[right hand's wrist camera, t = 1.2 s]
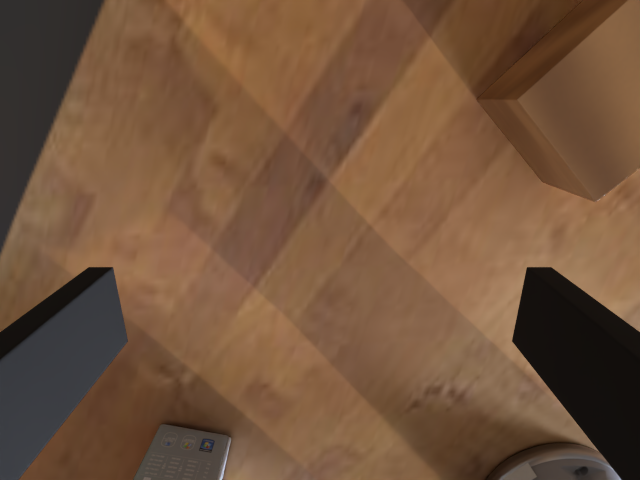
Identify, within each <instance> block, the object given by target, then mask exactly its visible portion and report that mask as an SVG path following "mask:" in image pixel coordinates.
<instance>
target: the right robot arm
mask: <svg viewBox="0 0 640 480" xmlns="http://www.w3.org/2000/svg"><path fill="white" fill-rule="evenodd" d="M127 342H128V339H127V334H126V329H125V325H124V320H123V315H122V310H121V305H120V300H119V295H118V290H117V285H116V280H115V275H114V270H113V267H89V268H87V269H86V270H85V271H83V272H82V273H80V274H79V275H78V276H76V277H75V278H74V279H72V280H71V281H70V282H68V283H67V284H65V285H64V286H63V287H61V288H60V289H59V290H57V291H56V292H55V293H53V294H52V295H50V296H49V297H48V298H46V299H45V300H44V301H42V302H41V303H40V304H38V305H37V306H35V307H34V308H33V309H31V310H30V311H29V312H27V313H26V314H25V315H23V316H22V317H20V318H19V319H18V320H16V321H15V322H14V323H12V324H11V325H10V326H8V327H7V328H5V329H4V330H3V331H1V332H0V480H19V478H20V477H21V476H22V475H23V473H24V472H25V471H26V470H27V468H28V467H29V466H30V464H31V463H32V462H33V461H34V459H35V458H36V457H37V456H38V454H39V453H40V452H41V451H42V449H43V448H44V447H45V445H46V444H47V443H48V442H49V440H50V439H51V438H52V437H53V435H54V434H55V433H56V432H57V430H58V429H59V428H60V426H61V425H62V424H63V423H64V421H65V420H66V419H67V418H68V416H69V415H70V414H71V413H72V411H73V410H74V409H75V407H76V406H77V405H78V404H79V402H80V401H81V400H82V399H83V397H84V396H85V395H86V394H87V392H88V391H89V390H90V388H91V387H92V386H93V385H94V383H95V382H96V381H97V380H98V378H99V377H100V376H101V375H102V373H103V372H104V371H105V369H106V368H107V367H108V366H109V364H110V363H111V362H112V361H113V359H114V358H115V357H116V356H117V354H118V353H119V352H120V350H121V349H122V348H123V347H124V345H125V344H126V343H127ZM512 342H513V343H514V344H515V345H516V347H517V348H518V349H519V350H520V352H521V353H522V354H523V356H524V357H525V358H526V359H527V361H528V362H529V363H530V364H531V366H532V367H533V368H534V369H535V371H536V372H537V373H538V375H539V376H540V377H541V378H542V380H543V381H544V382H545V383H546V385H547V386H548V387H549V388H550V390H551V391H552V392H553V394H554V395H555V396H556V397H557V399H558V400H559V401H560V402H561V404H562V405H563V406H564V407H565V409H566V410H567V411H568V413H569V414H570V415H571V416H572V418H573V419H574V420H575V421H576V423H577V424H578V425H579V426H580V428H581V429H582V430H583V432H584V433H585V434H586V435H587V437H588V438H589V439H590V440H591V442H592V443H593V444H594V445H595V447H596V448H597V449H598V451H599V452H600V453H599V452H597V451H596V450H594V449H591V448H589V447H585V446H582V445H577V444H569V443H555V444H547V445H541V446H537V447H533V448H530V449H527V450H524V451H522V452H520V453H518V454H515V455H514V456H512V457H510V458H508V459H507V460H505V461H504V462H503V463H501V464H500V465H499V466H498V467H497V468H496V469H494V470H493V472H492V473H491V474H490V475H489V476H488V478H487V479H486V480H640V332H639V331H637V330H636V329H635V328H633V327H632V326H630V325H629V324H628V323H626V322H625V321H624V320H622V319H621V318H620V317H618V316H617V315H615V314H614V313H613V312H611V311H610V310H609V309H607V308H606V307H605V306H603V305H602V304H600V303H599V302H598V301H596V300H595V299H594V298H592V297H591V296H590V295H588V294H587V293H585V292H584V291H583V290H581V289H580V288H579V287H577V286H576V285H575V284H573V283H572V282H570V281H569V280H568V279H566V278H565V277H564V276H562V275H561V274H560V273H558V272H557V271H555V270H554V269H553V268H551V267H527V270H526V275H525V280H524V285H523V290H522V295H521V300H520V305H519V310H518V315H517V320H516V325H515V329H514V334H513V339H512Z"/></svg>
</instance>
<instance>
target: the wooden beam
mask: <svg viewBox="0 0 640 480" xmlns="http://www.w3.org/2000/svg"><path fill="white" fill-rule="evenodd" d="M477 101H478V102H479V103H480V105H481V106H482V107H483V108H484V110H485V111H486V112H487V113H488V115H489V116H490V117H491V118H492V120H493V121H494V122H495V123H496V125H497V126H498V127H499V128H500V130H501V131H502V132H503V133H504V135H505V136H506V137H507V138H508V140H509V141H510V142H511V143H512V145H513V146H514V147H515V148H516V150H517V151H518V152H519V153H520V155H521V156H522V157H523V158H524V160H525V161H526V162H527V163H528V165H529V166H530V167H531V168H532V170H533V171H534V172H535V173H536V175H537V176H538V177H539V178H540V179H541V181H542V182H543V183H546V184H549V185H551V186H554V187H557V188H559V189H562V190H565V191H567V192H570V193H572V194H575V195H578V196H580V197H583V198H586V199H588V200H591V201H594V202H597V201H598V200H599V199H601V198H602V197H603V196H604V195H606V194H607V193H608V192H610V191H611V190H612V189H614V188H615V187H616V186H617V185H619V184H620V183H621V182H623V181H624V180H625V179H626V178H628V177H629V176H630V175H632V174H633V173H634V172H635V171H637V170H638V169H639V168H640V0H583V1H582V2H581V3H580V4H579V5H577V6H576V7H575V8H574V9H573V10H572V11H571V12H570V13H569V14H568V15H567V16H566V17H565V18H563V19H562V20H561V21H560V22H559V23H558V24H557V25H556V26H555V27H554V28H553V29H552V30H550V31H549V32H548V33H547V34H546V35H545V36H544V37H543V38H542V39H541V40H540V41H539V42H538V43H536V44H535V45H534V46H533V47H532V48H531V49H530V50H529V51H528V52H527V53H526V54H525V55H524V56H522V57H521V58H520V59H519V60H518V61H517V62H516V63H515V64H514V65H513V66H512V67H511V68H510V69H508V70H507V71H506V72H505V73H504V74H503V75H502V76H501V77H500V78H499V79H498V80H497V81H495V82H494V83H493V84H492V85H491V86H490V87H489V88H488V89H487V90H486V91H485V92H484V93H483V94H481V95H480V96H479V97H478V98H477Z"/></svg>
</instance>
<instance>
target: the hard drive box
mask: <svg viewBox="0 0 640 480" xmlns="http://www.w3.org/2000/svg"><path fill="white" fill-rule="evenodd" d="M230 441H231V437H228V435H222V434H217V433H211V432H205V431H200V430H194V429H188V428H182V427H177V426H171V425H165V424H161V425H160V427H159V429H158V431H157V433H156V435H155V437H154V439H153V441H152V443H151V444H150V446H149V448H148V450H147V452H146V454H145V456H144V458H143V460H142V462H141V464H140V467H139V469H138V471H137V473H136V475H135V477H134V479H133V480H222V479H223V474H224V469H225V465H226V460H227V456H228V451H229V446H230Z"/></svg>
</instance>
